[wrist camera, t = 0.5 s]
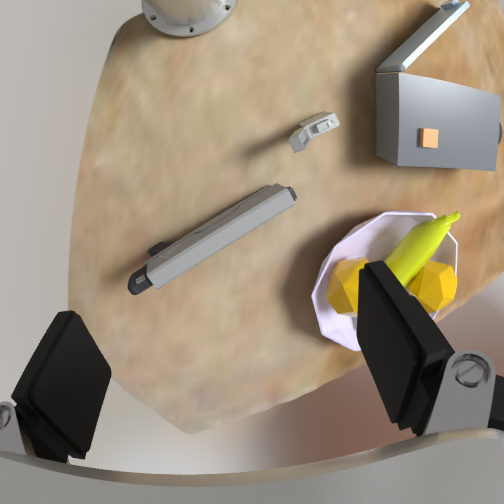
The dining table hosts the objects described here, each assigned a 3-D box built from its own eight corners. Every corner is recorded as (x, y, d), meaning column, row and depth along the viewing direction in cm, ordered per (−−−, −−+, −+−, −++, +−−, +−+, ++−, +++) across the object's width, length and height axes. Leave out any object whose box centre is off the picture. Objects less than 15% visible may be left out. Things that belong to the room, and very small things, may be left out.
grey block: (375, 74, 36) (401, 72, 29) (478, 93, 37) (509, 98, 30) (375, 155, 42) (400, 167, 35) (475, 160, 42) (504, 173, 35)
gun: (129, 261, 46) (121, 291, 37) (267, 174, 47) (292, 185, 38) (138, 273, 47) (133, 306, 38) (275, 188, 48) (300, 202, 39)
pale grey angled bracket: (325, 110, 39) (344, 114, 32) (330, 122, 39) (350, 128, 32) (278, 132, 40) (288, 140, 33) (284, 144, 41) (295, 154, 34)
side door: (371, 66, 35) (393, 62, 29) (438, 3, 29) (463, -4, 24) (379, 74, 36) (402, 73, 30) (445, 11, 30) (470, 6, 24)
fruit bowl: (374, 346, 60) (393, 386, 50) (272, 288, 51) (281, 335, 41) (468, 246, 50) (503, 276, 40) (385, 152, 42) (426, 171, 32)
